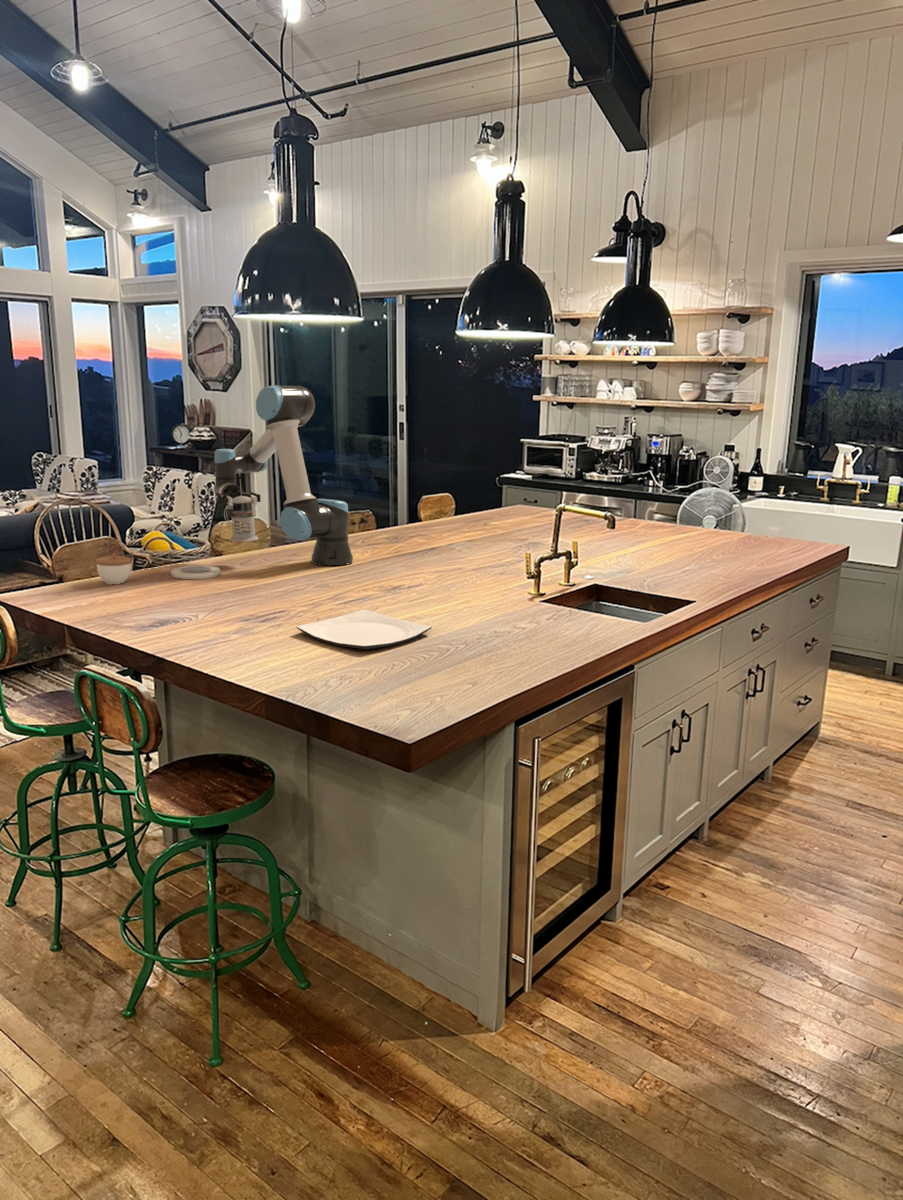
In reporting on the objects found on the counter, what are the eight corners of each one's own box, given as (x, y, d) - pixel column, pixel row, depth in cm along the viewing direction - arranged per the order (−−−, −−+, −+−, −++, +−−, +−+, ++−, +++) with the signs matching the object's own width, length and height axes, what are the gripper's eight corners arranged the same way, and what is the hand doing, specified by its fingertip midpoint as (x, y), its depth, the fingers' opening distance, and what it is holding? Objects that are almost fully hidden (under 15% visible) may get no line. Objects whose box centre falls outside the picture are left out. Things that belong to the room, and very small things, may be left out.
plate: (364, 616, 266) (364, 607, 266) (439, 636, 249) (439, 626, 248) (288, 635, 245) (288, 626, 244) (365, 658, 227) (365, 648, 227)
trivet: (229, 574, 313) (229, 569, 313) (191, 581, 301) (191, 576, 300) (199, 567, 322) (199, 562, 322) (161, 574, 310) (161, 569, 309)
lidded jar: (125, 586, 292) (124, 557, 290) (92, 585, 292) (90, 556, 290) (137, 579, 302) (136, 551, 300) (105, 578, 302) (103, 550, 300)
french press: (251, 541, 320) (246, 470, 314) (220, 541, 323) (215, 469, 316) (262, 536, 330) (258, 466, 323) (232, 535, 332) (227, 466, 325)
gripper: (259, 503, 344) (273, 511, 323) (202, 505, 335) (213, 513, 315) (258, 483, 342) (272, 489, 322) (201, 484, 334) (212, 491, 313)
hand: (243, 501), depth 319 cm, fingers closed on french press, 8 cm apart
